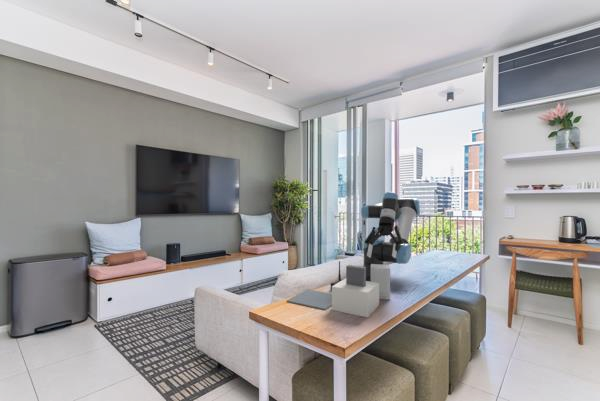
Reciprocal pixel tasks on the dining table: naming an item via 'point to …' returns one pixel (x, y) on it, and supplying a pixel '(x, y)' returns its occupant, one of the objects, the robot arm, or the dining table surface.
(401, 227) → the robot arm
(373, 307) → the cover
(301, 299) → the pad
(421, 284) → the dining table surface
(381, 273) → the supplement box
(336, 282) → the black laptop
